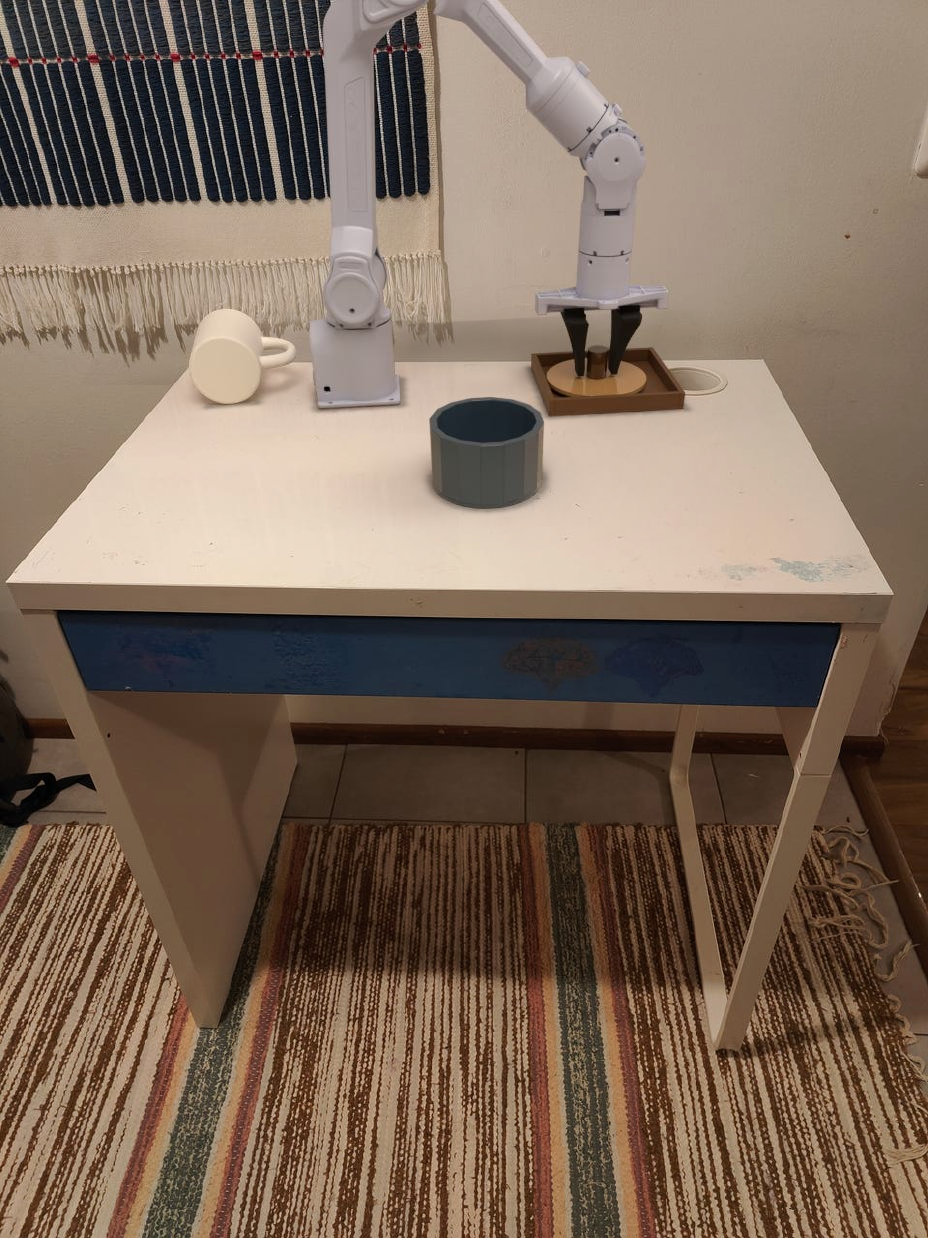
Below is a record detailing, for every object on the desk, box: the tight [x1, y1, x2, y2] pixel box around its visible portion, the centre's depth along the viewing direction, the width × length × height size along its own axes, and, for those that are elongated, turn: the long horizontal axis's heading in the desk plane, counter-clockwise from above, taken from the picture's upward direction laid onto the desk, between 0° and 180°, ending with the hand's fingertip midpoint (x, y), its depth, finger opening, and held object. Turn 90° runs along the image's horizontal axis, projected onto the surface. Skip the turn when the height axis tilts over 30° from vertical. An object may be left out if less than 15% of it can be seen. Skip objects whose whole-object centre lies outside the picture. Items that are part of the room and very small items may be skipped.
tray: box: [530, 346, 686, 417], centre depth 101 cm, size 15×14×2 cm
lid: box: [546, 345, 646, 397], centre depth 100 cm, size 12×12×4 cm
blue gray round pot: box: [428, 396, 545, 509], centre depth 82 cm, size 11×11×6 cm
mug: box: [188, 308, 297, 405], centre depth 102 cm, size 12×10×8 cm
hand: (596, 372), depth 100 cm, fingers open, 3 cm apart
